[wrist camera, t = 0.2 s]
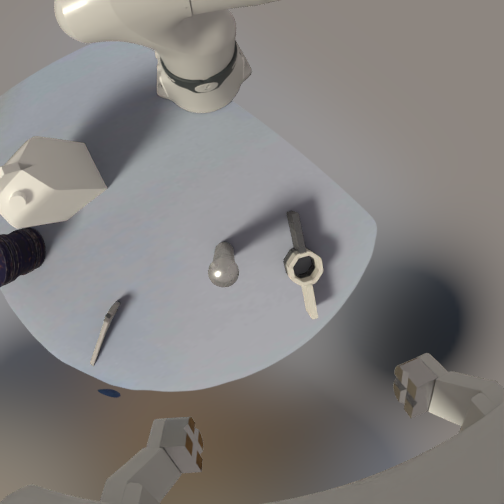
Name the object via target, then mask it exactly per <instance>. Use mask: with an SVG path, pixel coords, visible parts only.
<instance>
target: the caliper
mask: <svg viewBox="0 0 504 504" xmlns="http://www.w3.org/2000/svg"><path fill="white" fill-rule="evenodd" d="M119 305H120V303H119V302H117V301H116V302H115V303H114V304H113V306H112V307H111V308H110V310H109V311H108V313H107V315H106V316H105V319H104V323H103V326H102V329H101V332H100V335H99V338H98V341H97V344H96V347H95V350H94V353H93V355H92V359H91V362H90V364H91V365H92V366H94V364H95V361H96V359H97V356H98V353H99V351H100V348H101V345H102V343H103V340H104V337H105V335H106V332H107V330H108V328H109V326H110V323H111V320H112V318H113V317H114V315H115V313H116V312H117V310H118V309H117V308H118V307H119Z"/></svg>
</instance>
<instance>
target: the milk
mask: <svg viewBox="0 0 504 504" xmlns="http://www.w3.org/2000/svg"><path fill="white" fill-rule="evenodd" d="M107 189H108V188H107V187H106V185H105V183H104V181H103V179H102V177H101V175H100V173H99V171H98V169H97V167H96V165H95V163H94V161H93V159H92V157H91V155H90V153H89V151H88V149H87V147H86V145H85V143H81V142H74V141H68V140H61V139H54V138H46V137H38V136H34V137H32V138H30V139H29V140H27V141H26V142H25V143H24V144H23V145H22V146H21V147H20V148H19V149H18V150H17V151H16V153H15V154H14V155H13V156H12V157H11V158H10V159H9V160H8V161H7V163H6V164H5V165H4V166H1V167H0V214H1V215H2V216H3V217H4V218H5V219H6V220H7V222H8V223H10V224H11V225H12V226H13V227H15V228H25V227H31V226H37V225H43V224H49V223H55V222H62V221H67V220H68V219H70V218H71V217H72V216H73V215H74V214H76V213H77V212H78V211H79V210H81V209H82V208H83V207H84V206H86V205H87V204H88V203H89V202H91V201H92V200H93V199H95V198H96V197H97V196H99V195H100V194H101V193H103V192H104V191H105V190H107Z"/></svg>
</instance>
